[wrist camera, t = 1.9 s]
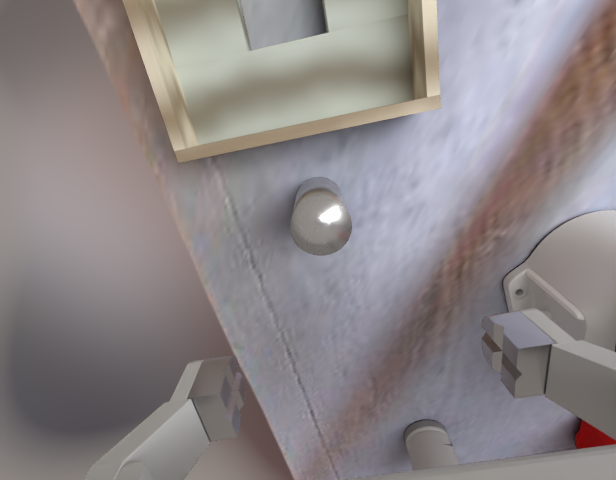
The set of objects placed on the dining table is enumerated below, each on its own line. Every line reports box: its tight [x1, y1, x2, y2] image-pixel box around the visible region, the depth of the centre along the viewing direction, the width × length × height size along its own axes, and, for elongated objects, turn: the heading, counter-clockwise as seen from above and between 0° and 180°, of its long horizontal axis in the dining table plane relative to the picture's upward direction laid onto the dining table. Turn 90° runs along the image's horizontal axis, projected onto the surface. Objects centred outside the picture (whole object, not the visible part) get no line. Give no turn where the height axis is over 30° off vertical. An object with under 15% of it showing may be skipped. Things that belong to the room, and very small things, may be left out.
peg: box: [290, 177, 352, 255], centre depth 30 cm, size 5×5×9 cm
